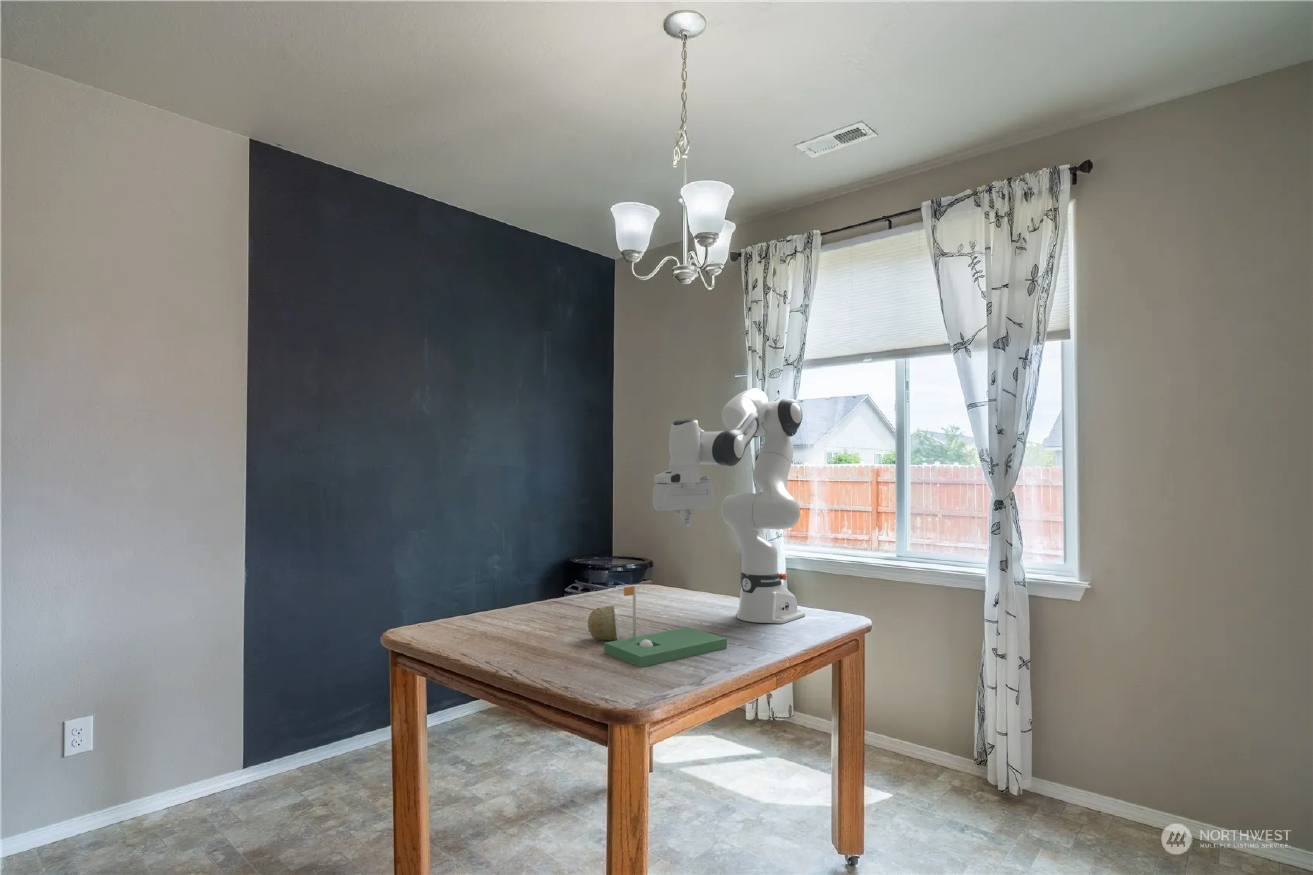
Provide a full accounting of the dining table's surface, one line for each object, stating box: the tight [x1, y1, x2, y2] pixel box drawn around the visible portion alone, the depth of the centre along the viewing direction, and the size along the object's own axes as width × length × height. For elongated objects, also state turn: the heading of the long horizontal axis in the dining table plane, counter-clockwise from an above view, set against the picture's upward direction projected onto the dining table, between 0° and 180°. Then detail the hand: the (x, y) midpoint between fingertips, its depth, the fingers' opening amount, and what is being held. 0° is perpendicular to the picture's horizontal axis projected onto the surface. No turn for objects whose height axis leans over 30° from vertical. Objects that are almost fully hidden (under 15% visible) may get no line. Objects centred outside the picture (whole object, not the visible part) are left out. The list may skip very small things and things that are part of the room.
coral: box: [587, 605, 619, 642], centre depth 190 cm, size 10×10×10 cm
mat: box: [603, 585, 728, 668], centre depth 180 cm, size 28×16×16 cm, turn 127°
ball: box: [639, 639, 653, 648], centre depth 176 cm, size 4×4×4 cm
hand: (684, 525), depth 193 cm, fingers closed
